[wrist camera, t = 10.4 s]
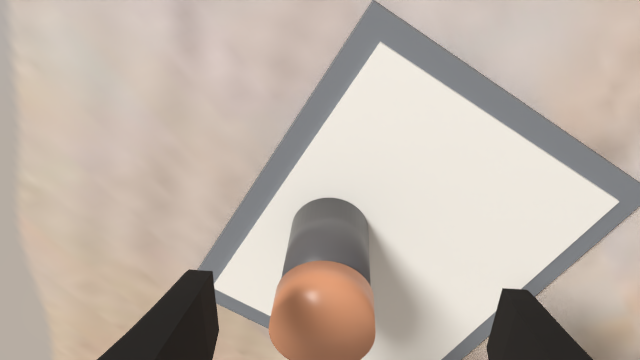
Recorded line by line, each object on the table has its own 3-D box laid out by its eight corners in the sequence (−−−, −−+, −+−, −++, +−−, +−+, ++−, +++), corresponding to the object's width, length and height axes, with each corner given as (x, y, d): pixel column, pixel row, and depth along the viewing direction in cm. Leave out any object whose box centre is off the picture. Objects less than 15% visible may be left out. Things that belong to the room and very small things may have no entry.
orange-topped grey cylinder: (385, 216, 21) (395, 317, 16) (347, 273, 23) (345, 382, 18) (310, 182, 21) (294, 276, 15) (277, 244, 22) (253, 347, 17)
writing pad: (648, 188, 21) (656, 196, 20) (414, 393, 28) (415, 402, 27) (373, -1, 18) (373, 2, 17) (188, 283, 25) (185, 291, 24)
